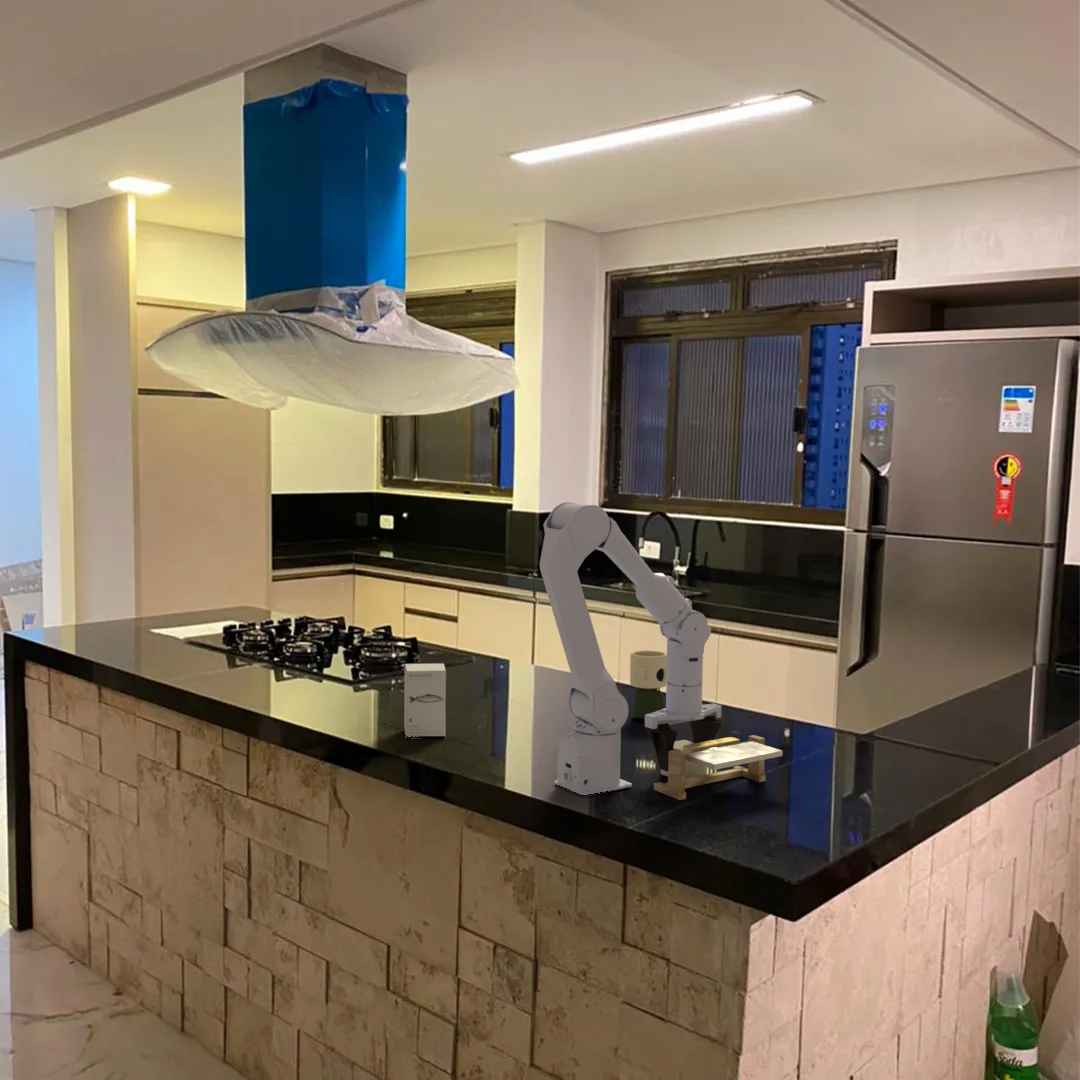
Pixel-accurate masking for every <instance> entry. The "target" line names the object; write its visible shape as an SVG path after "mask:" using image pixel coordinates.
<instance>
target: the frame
mask: <svg viewBox="0 0 1080 1080" xmlns="http://www.w3.org/2000/svg"><path fill="white" fill-rule="evenodd" d="M748 741H753V742H756V743H759V744H763V745H766V738H765V737H763V736H759V735H756V734H754V735H753V734H752V735H748ZM740 777H744V778H746V779H749V780H752V781H755V782H758V783H762V782H766V774H765V760H760V761H755V762H750V763H747V768H746V767H743V766H742V765H741V766H740V765H736V766H732V769H727V770H722V771H718V772H714V773H707V774H705V775H702V776H697V777H693V778H688V779H685V753H682V752H679V751H676V750H672V751H669V760H668V776H667V782H661V781H660V782H659V781H658V782H654V783H653V791H656V792H659V793H661V794H664V795H666V796H669V797H670V798H673V799H676V800H678V801H681V800H686V799H687V792H686V791H685V790H686V789H688V788H689V789H690V788H693V787H697V786H703V785H706V784H712V783H717V782H721V781H725V780H731V779H735V778H740Z"/></svg>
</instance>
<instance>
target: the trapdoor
mask: <svg viewBox="0 0 1080 1080" xmlns="http://www.w3.org/2000/svg"><path fill="white" fill-rule="evenodd" d="M740 741H741V740H740V738H736V737H734V736H733V737H732V736H729V737H723V738H718V739H714V740H711V741H705V742H700V743H695V744H689V745H684V746H683V753H685V760H688V761H691V762H693V763H696V764H699V765H702V766H705V768H708V769H710V770H713V771H715V770H716V771H717V770H720V769H721V770H722V769H726V768H731V767H735V766H740V765H745V764H748V763H750V762H755V761H760V760H764V761H765V760H768V759H774V758H778V757H783V750H782V749H779V748H775V747H772V746H769V745H766V744H765V745H763V744H759V743H756V742H753V741H747V740H746V741H742V742H740Z"/></svg>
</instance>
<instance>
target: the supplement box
mask: <svg viewBox="0 0 1080 1080" xmlns="http://www.w3.org/2000/svg"><path fill="white" fill-rule="evenodd" d="M446 685H447V670H446V666H445V664H444V663H404V710H403V711H404V712H403V713H404V714H403V715H404V717H403V718H404V720H403V721H404V725H403V726H404V727H403V728H404V734H405V735H406V736H408V737H411V736H413V737H415V736H416V737H417V736H418V737H419V736H445V737H446V735H447V734H446V733H447V732H446V730H447V726H446V725H447V723H446V721H447V720H446V719H447V718H446V713H447V712H446V711H447V710H446V707H447V706H446V704H447V703H446V701H447V700H446V699H447V698H446V697H447V694H446V693H447V691H446V689H447V686H446ZM406 736H405V737H406Z"/></svg>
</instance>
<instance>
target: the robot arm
mask: <svg viewBox="0 0 1080 1080" xmlns="http://www.w3.org/2000/svg"><path fill="white" fill-rule="evenodd" d="M543 529H544V538H543V543H542V549H541V554H540V555H541V556H540V560H539V570H540V573H541V577H542V579H543V583H544V584H543V585H544V586H545V591H546V594H547V597H548V600H549V604H550V607H551V611H552V614H553V617H554V621H555V624H556V628H557V630H558V634H559V637H560V640H561V644H562V648H563V651H564V654H565V658H566V662H567V665H568V667H569V672H570V674H569V677H568V678H567V681H566V683H567V686H568V687H567V688H568V698H567V706H568V709H569V711H570V714H571V715H572V716H573V717H574V725H573V727H574V728H573V729H572V730H571V731H570V732H568V733H566V734H563V735H562V736H560V738H559V740H558V743H557V759H556V763H557V768H556V770H557V772H556V773H557V774H556V775H557V776H556V780H554V784H555V783H556V784H557V786H559V785H560V786H559V787H561V786H562V787H561V788H563V787H564V788H563V789H565V788H567V789H566V790H568V789H569V790H568V791H570V790H571V791H570V792H572V791H573V793H574V792H576V793H578V794H577V795H579V794H581V795H587V794H593V795H595V794H594V793H598V794H601V793H600V792H603V793H607V792H606V791H608V792H612V790H613V791H618V790H622V789H626V788H631V787H633V786H632V785H633V784H632V782H629V781H627V780H624V779H621V740H622V739H621V731H622V727H623V726H624V725H625V723H626V722H627V721H628V720H627V719H628V717H629V704H628V702H627V699H626V698H625V697H624V696H623V695H622V694H621V693H620V691H619V689H618V687H617V683H616V681H615V680H614V678H613V677H612V675H611V674H610V672H609V671H608V670H607V668H606V667H605V663H604V660H603V656H602V652H601V650H600V646H599V642H598V639H597V636H596V635H597V634H596V633H595V629H594V625H593V622H592V619H591V615H590V612H589V609H588V605H587V601H586V598H585V594H584V591H583V590H584V589H583V587H582V585H581V580H580V578H579V573H578V571H579V569H580V567H581V565H582V563H584V561H585V559H586V558H587V557H588V556H589V555H590V554H591V553H592V552H594V551H595V550H597V551H600V552H603V553H604V554H605V555H606V556H607V557H608V558H609V559H610V560H611V561H612V562H613V563H614V564H615V565H616V567H618V569H620V570H621V572H622V573H623V574H624V575H625V576H626V577H627V578H628V579H629V580H630V581H631V582H632V583H633V584H634V585H635V586H636V587H635V597H636V599H637V600H638V601H639V603H640V604H641V605H642V606H643V607H644V608H645V609H646V610H647V612H649V614H650V615H651V616H652V618H653V619H654V620H655V621H656V622H657V623H658V624H659V629H660V630H659V631H660V634H661V635H662V636H663V637H665V638H666V640H667V641H666V654H667V681H666V686H665V689H666V690H665V691H666V692H665V693H666V694H665V707H664V709H662V710H659V711H656V712H654V713H650V714H646V715H645V720H644V728H645V731H646V733H647V735H648V737H649V738H650V740H651V743H652V745H653V748H654V751H655V754H656V759H657V762H658V768H659V769H660V771H661V770H664V771H667V772H668V760H669V751H672V750H673V747H674V742H675V741H676V739H677V735H678V731H676V730H673V729H672V727H671V725H676V724H682V723H688V722H689V725H690V726H691V727H690V728H691V733H692V740H693V741H692V742H693V743H700V742H705V741H711V740H715V737H716V735H717V734H718V732H719V730H720V729H721V728H722V721H721V720H720V718H722V705H720V704H716V703H709V704H707V703H706V704H703V679H704V678H703V673H704V672H703V670H704V668H703V667H704V666H703V665H704V653H705V645H706V644H707V643H706V642H708V640H709V638H710V636H711V633H712V628H711V627H710V626H709V624H708V620H707V617H706V616H705V615H704V614H703V613H702V612H700V611H698V610H693V607H692V605H693V602H692V601H691V599H690V598H687V597H686V598H685V596H684V595H683V594H682V593H681V592H680V591H679V590H678V588H677V587H676V586H675V585H674V584H675V583H676V580H675V579H674V578H673V577H672V576H670V575H666V574H664V573H663V572H653V571H652V569H651V568H650V567H649V565H648V564H647V563H646V562H645V560H644V558H642V557H641V555H640V554H639V553H638V552H637V550H636V549H635V547H634V546H633V544H631V542H630V541H629V539H627V537H626V535H625V534H624V533H623V532H622V530H621V529H620V527H619V525H618V523H617V522H616V521H615V520H614V519H613V518H612V517H610V516H608V513H607V512H606V510H604V509H603V507H601V506H598V505H597V504H590V503H589V504H579V503H575V502H571V501H566V502H562V503H560V504H559V503H558V505H556V506H555V507H554V508H553V509H552V510H551V512H550V513H549V515H548V516H547V518H546V519H545V521H544V523H543ZM717 718H719V719H717ZM556 784H555V785H556ZM576 793H575V794H576ZM581 795H580V796H581Z"/></svg>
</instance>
